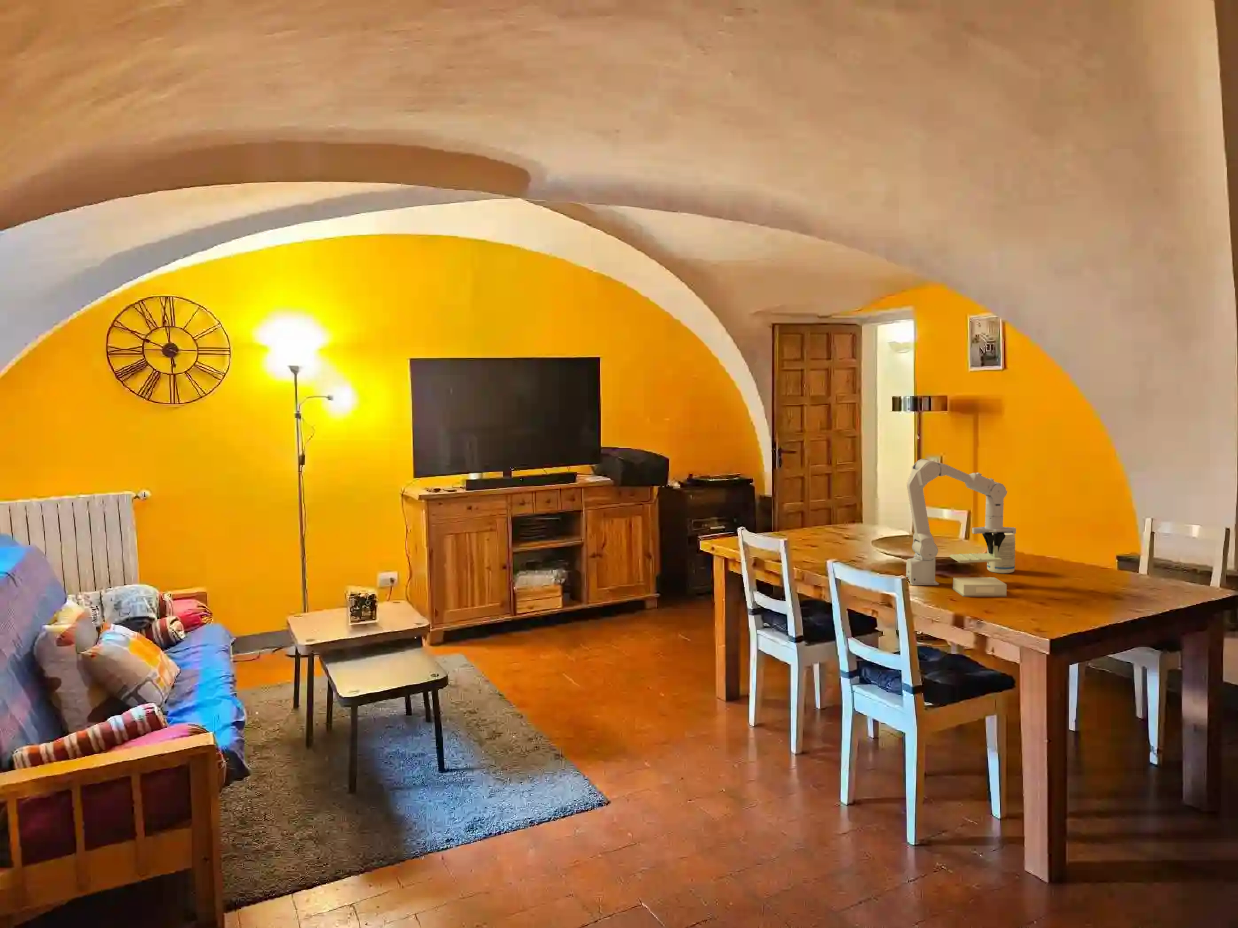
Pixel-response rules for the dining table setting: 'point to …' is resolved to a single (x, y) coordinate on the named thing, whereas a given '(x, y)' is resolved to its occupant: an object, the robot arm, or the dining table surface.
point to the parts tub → (979, 586)
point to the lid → (977, 556)
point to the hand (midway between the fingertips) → (993, 553)
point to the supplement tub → (1004, 556)
